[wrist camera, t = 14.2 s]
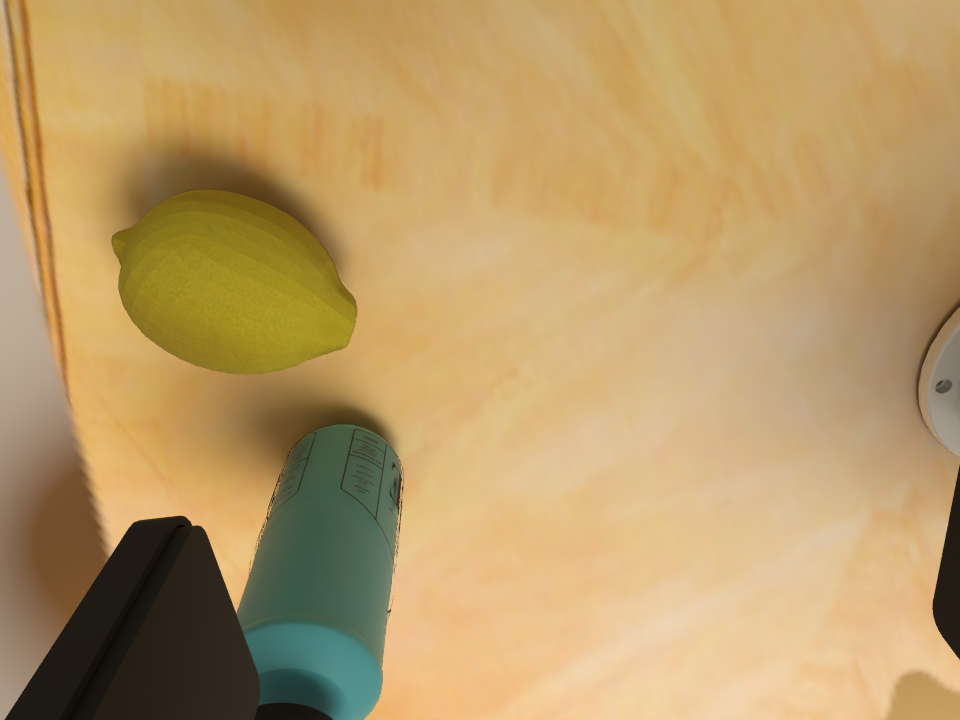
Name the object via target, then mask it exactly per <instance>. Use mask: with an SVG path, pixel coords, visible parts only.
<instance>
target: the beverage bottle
mask: <svg viewBox="0 0 960 720" xmlns="http://www.w3.org/2000/svg"><path fill="white" fill-rule="evenodd" d="M303 438H304V437H303ZM303 438H302V439H303ZM299 441H300V440H299ZM299 441H298V442H299ZM298 442H297V443H298ZM297 443H296V444H297ZM296 444H295V445H296ZM295 445H294V446H295ZM294 446H293V447H294ZM293 447H292V448H293ZM289 453H290V451H289ZM288 456H289V455H288ZM397 457H398V456H397V455H396V453H395V452H394V450H393V449H392V447H391V446H390V445H389V444H388V443H387V442H386V441H385V440H384V439H383V438H382V437H380V436H379V435H378V434H376V433H374V432H372V431H371V430H368V429H366V428H363V427H360V426H356V425H350V424H335V425H329V426H325V427H322V428H320V429H317V430H315V431H313V432H311V433H310V434H309V435H307V436H305V438H304V439H303V440H302V441H301V442H300V443H299V444H298V445H297V446H296V447H295V448H294V450H293V451H292V452H291V455H290V457H289V460H288V462H287V460H286V462H287V465H286V468H285V471H284V474H283V472H282V470H281V473H282V475H281V477H282V480H281V483H280V485H279V488H278V491H277V494H276V497H273V496H275V495H274V493H273V496H272V498H273V500H272V498H271V501H272V503H271V501H270V503H271V504H273V506H272V505H271V506H270V504H269V506H270V507H272V508H271V511H270V514H269V517H266V519H267V523H266V524H265V523H264V524H265V525H266V526H265V529H264V531H263V534H262V529H261V531H260V532H261V534H262V535H261V540H260V543H259V542H258V543H259V544H258V549H257V548H256V549H257V552H256V555H255V558H254V562H253V566H252V569H251V572H250V575H249V578H248V581H247V584H246V587H245V590H244V593H243V596H242V599H241V602H240V605H239V608H238V610H237V613H236V615H237V617H238V620H239V623H240V626H241V628H242V631H243V634H244V636H245V639H246V642H247V645H248V647H249V650H250V653H251V655H252V658H253V661H254V663H255V666H256V669H257V672H258V675H259V679H260V699H259V704H258V708H257V712H256V715H255V718H254V720H364V719H365V718H366V717H367V716H368V715H369V714H370V712H371V711H372V710H373V708H374V707H375V705H376V703H377V702H378V699H379V697H380V694H381V689H382V682H383V671H382V662H383V653H384V643H385V633H386V624H387V614H388V613H389V612H390V611H391V609H390V610H389V611H388V605H389V599H390V592H391V584H392V574H393V572H394V570H395V567H394V570H393V563H394V555H395V554H394V552H395V548H396V546H395V541H396V537H397V535H396V531H397V525H398V524H397V520H398V514H399V508H400V507H399V502H400V501H399V499H400V489H401V480H402V478H401V472H402V471H401V467H400V464H399V461H400V460H399V461H398V459H399V458H397ZM287 459H288V458H287ZM400 463H401V462H400ZM285 464H286V463H285ZM283 466H284V465H283ZM401 466H402V465H401ZM284 467H285V466H284ZM402 469H403V468H402ZM283 470H284V469H283ZM403 474H404V472H403ZM402 476H403V475H402ZM279 478H280V476H279ZM280 479H281V478H280ZM403 480H404V479H403ZM278 481H279V482H280V480H279V479H278ZM278 481H277V483H278ZM278 484H279V483H278ZM276 486H277V484H276ZM403 486H404V481H403ZM277 487H278V486H277ZM275 489H276V487H275ZM276 490H277V489H276ZM402 491H403V487H402ZM274 492H275V490H274ZM275 493H276V492H275ZM402 495H403V494H402ZM274 498H275V500H274ZM402 498H403V497H402ZM400 500H401V499H400ZM273 501H274V503H273ZM400 505H401V510H402V501H401V504H400ZM268 509H269V507H268ZM269 510H270V509H269ZM268 513H269V512H267V514H268ZM267 516H268V515H267ZM265 521H266V520H265ZM400 521H401V513H400ZM263 528H264V526H263ZM398 529H399V531H400V524H399V527H398ZM259 536H260V534H259ZM398 536H399V534H398ZM398 539H399V537H398ZM257 540H258V541H259V539H257ZM397 542H398V540H397ZM397 542H396V544H397ZM256 545H257V544H256ZM256 545H255V546H256ZM256 547H257V546H256ZM397 549H398V546H397ZM396 552H397V550H396ZM396 552H395V553H396ZM397 555H398V554H397ZM250 563H251V561H250ZM395 566H397V565H395ZM249 570H250V568H249ZM393 597H394V596H393ZM392 602H393V601H392ZM391 606H392V605H391ZM389 615H390V614H389ZM388 618H389V617H388Z"/></svg>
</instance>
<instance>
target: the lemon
mask: <svg viewBox="0 0 960 720" xmlns="http://www.w3.org/2000/svg"><path fill="white" fill-rule="evenodd" d="M112 246H113V250H114V252H115V254H116V256H117V257H118V259H119V262H120V264H121V270H120V275H119V284H118V290H119V293H120V296H121V300H122V303H123V306H124V308H125V310H126V311H127V313H128V315H129V316H130V318H131V320H132V321H133V323H134V324H135V325H136V326H137V327H138V328H139V329H140V331H141V332H142V333H143V334H144V335H145V336H146V337H147V338H149V339H150V340H151V341H153V342H154V343H156V344H157V345H158V346H160V347H161V348H162V349H164V350H165V351H167V352H169V353H171V354H172V355H174V356H176V357H178V358H180V359H182V360H184V361H187V362H189V363H191V364H194V365H196V366H199V367H203V368H206V369H210V370H214V371H220V372H225V373H233V374H246V375H247V374H261V373H268V372H273V371H278V370H282V369H286V368H290V367H293V366H297V365H299V364H301V363H303V362H305V361H307V360H310V359H313V358H316V357H319V356H322V355H325V354H328V353H331V352H333V351H336V350H341V349H343V348H345V347H346V346H347V345H348V344H349V342H350V339H351V335H352V333H353V330H354V327H355V322H356V317H357V306H356V300H355V299H354V297H353V296H352V294H351V293H350V292H349V291H348V290H347V289H346V288H345V286H344V285H343V284H342V282H341V280H340V278H339V276H338V273H337V271H336V268H335V266H334V263H333V260H332V259H331V257H330V256H329V254H328V252H327V251H326V249H325V248H324V247H323V245H322V244H321V243H320V242H319V241H318V240H317V238H316V237H315V236H314V235H313V234H312V233H311V232H310V231H309V230H307V229H306V228H305V227H304V226H303V225H302V224H301V223H299V222H298V221H297V220H296V219H294V218H293V217H292V216H290V215H289V214H287V213H285V212H283V211H282V210H280V209H278V208H276V207H274V206H272V205H269V204H267V203H265V202H262V201H260V200H257V199H254V198H251V197H248V196H245V195H242V194H237V193H233V192H229V191H221V190H212V189H206V190H191V191H188V192H184V193H180V194H176V195H174V196H172V197H170V198H168V199H166V200H164V201H162V202H160V203H159V204H158V205H156V206H155V207H154V208H152V209H151V210H150V211H149V212H148V213H147V214H146V215H145V216H144V217H143V218H142V219H141V220H140V221H139V223H137V224H136V225H134V226H132V227H130V228H127V229H125V230H122V231H120V232H117V233H116V234H115V235H113V237H112Z"/></svg>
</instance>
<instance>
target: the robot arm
mask: <svg viewBox="0 0 960 720" xmlns="http://www.w3.org/2000/svg"><path fill="white" fill-rule="evenodd" d="M919 405H920V409H921V413H922V416H923V420H924V422H925V423H926V425H927V427H928V428H929V430H930V432H931V433H932V435H933V436H934V437H935V438H936V439H938V440H939V441H940V442H941V443H942V444H943V445H944V446H945V447H946V448H947V449H948V450H949V451H951V452H952V453H953V454H955V455H956V456H957V457H959V458H960V307H959V308H958V309H957V310H956V312H955V313H954V314H953V315H952V316H951V317H950V319H949V320H948V321H947V322H946V323H945V324H944V326H943V327H942V329H941V330H940V332H939V333H938V335H937V337H936V338H935V340H934V341H933V343H932V345H931V346H930V349H929V351H928V354H927V356H926V358H925V361H924V363H923V366H922V371H921V376H920V381H919ZM932 609H933V616H934V619H935V623H936V625H937V628H938V630H939V632H940V633H941V635H942V637H943V638H944V639H945V641H946V642H947V643H948V645H949V646H950V647H951V649H952V650H953V651H954V653H955V654H956V655H957V657H958V658H959V659H960V466H959V471H958V476H957V481H956V486H955V491H954V497H953V502H952V507H951V512H950V517H949V522H948V527H947V533H946V538H945V543H944V548H943V553H942V558H941V563H940V568H939V574H938V579H937V584H936V589H935V594H934V599H933V608H932ZM259 699H260V679H259V675H258V672H257V669H256V666H255V663H254V661H253V658H252V655H251V653H250V650H249V647H248V645H247V642H246V639H245V636H244V634H243V631H242V628H241V626H240V623H239V620H238V617H237V615H236V612H235V609H234V607H233V604H232V601H231V599H230V596H229V593H228V590H227V588H226V585H225V582H224V580H223V577H222V574H221V571H220V569H219V566H218V563H217V561H216V558H215V555H214V553H213V550H212V547H211V544H210V542H209V539H208V536H207V534H206V532H205V530H204V529H203V528H202V527H201V526H192V524H191V522H190V521H189V520H188V519H187V518H186V517H184V516H174V517H165V518H156V519H147V520H139V521H137V522H134V523H133V524H132V525H131V526H130V527H129V529H128V530H127V532H126V533H125V535H124V536H123V538H122V539H121V541H120V543H119V544H118V546H117V547H116V549H115V550H114V552H113V553H112V555H111V556H110V558H109V560H108V561H107V563H106V564H105V566H104V567H103V569H102V570H101V572H100V573H99V575H98V576H97V578H96V580H95V581H94V583H93V584H92V586H91V587H90V589H89V590H88V592H87V594H86V595H85V597H84V598H83V600H82V601H81V603H80V604H79V606H78V607H77V609H76V611H75V612H74V614H73V615H72V617H71V618H70V620H69V621H68V623H67V624H66V626H65V627H64V629H63V631H62V632H61V634H60V635H59V637H58V638H57V640H56V641H55V643H54V644H53V646H52V647H51V649H50V651H49V652H48V654H47V655H46V657H45V658H44V660H43V662H42V663H41V665H40V666H39V668H38V669H37V671H36V672H35V674H34V675H33V677H32V678H31V680H30V682H29V683H28V685H27V686H26V688H25V689H24V691H23V692H22V694H21V695H20V697H19V698H18V700H17V702H16V703H15V705H14V706H13V708H12V709H11V711H10V713H9V714H8V715H7V717H6V719H5V720H254V718H255V715H256V712H257V708H258V704H259Z"/></svg>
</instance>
